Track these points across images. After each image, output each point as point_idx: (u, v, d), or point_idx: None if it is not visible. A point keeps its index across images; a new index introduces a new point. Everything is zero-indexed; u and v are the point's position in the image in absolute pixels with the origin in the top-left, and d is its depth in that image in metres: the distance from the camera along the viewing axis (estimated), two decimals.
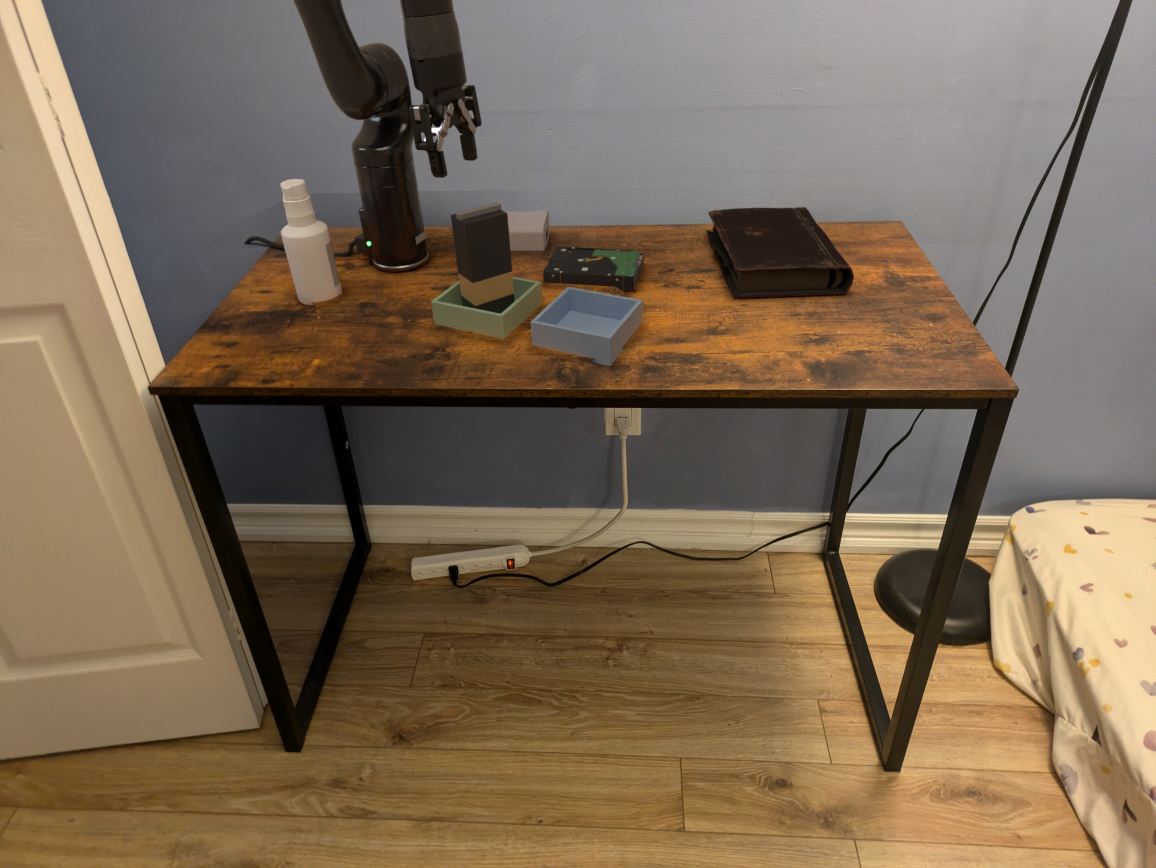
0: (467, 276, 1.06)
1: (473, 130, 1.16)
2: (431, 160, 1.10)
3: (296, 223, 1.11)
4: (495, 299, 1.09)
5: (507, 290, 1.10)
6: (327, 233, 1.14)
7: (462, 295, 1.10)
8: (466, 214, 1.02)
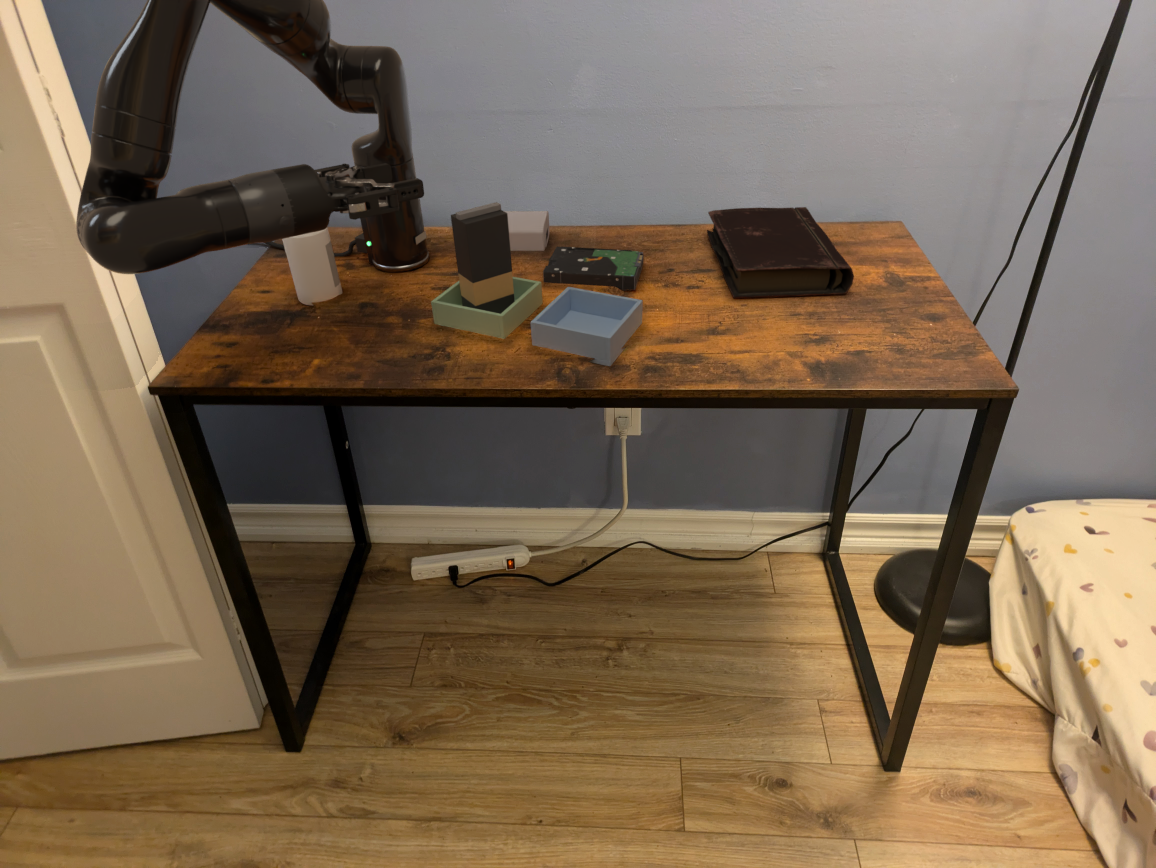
0: (467, 276, 1.06)
1: None
2: None
3: None
4: (495, 299, 1.09)
5: (507, 290, 1.10)
6: (327, 233, 1.14)
7: (462, 295, 1.10)
8: (466, 214, 1.02)
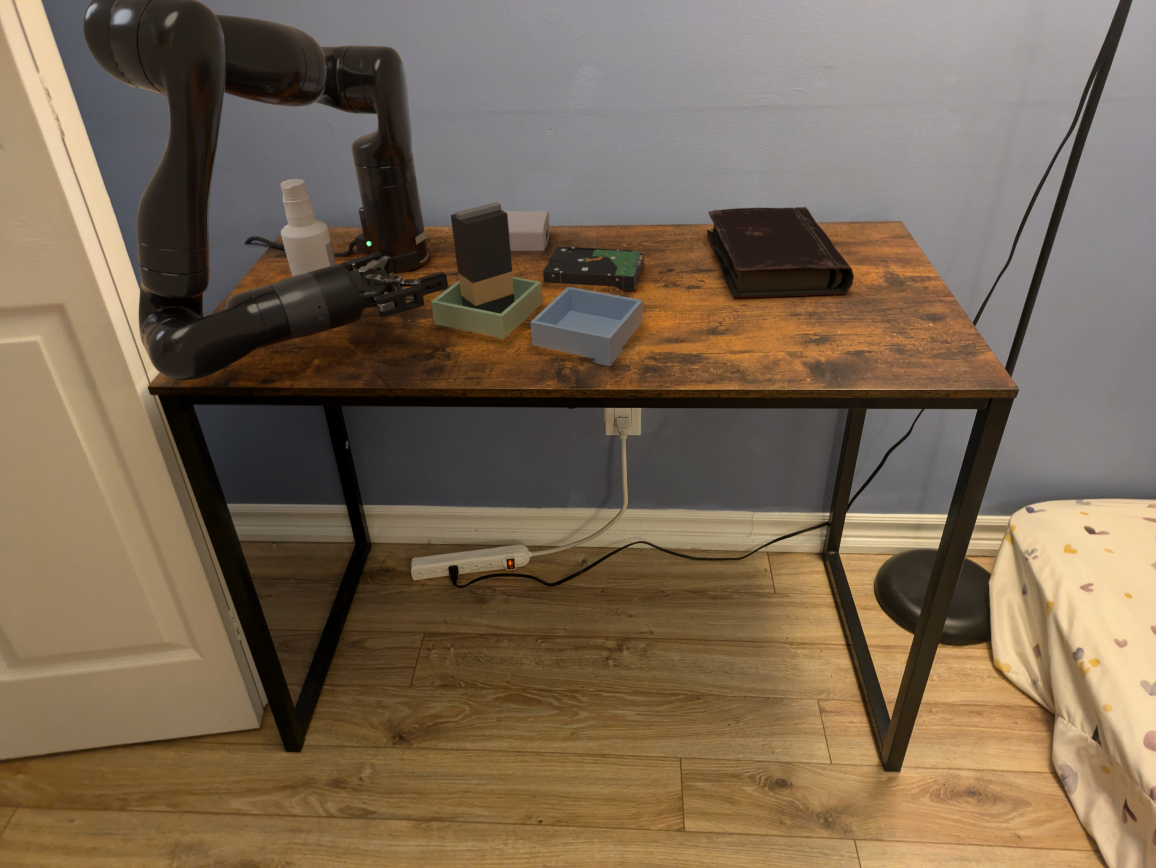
0: (467, 276, 1.06)
1: None
2: None
3: (296, 223, 1.11)
4: (495, 299, 1.09)
5: (507, 290, 1.10)
6: (327, 233, 1.14)
7: (462, 295, 1.10)
8: (466, 214, 1.02)
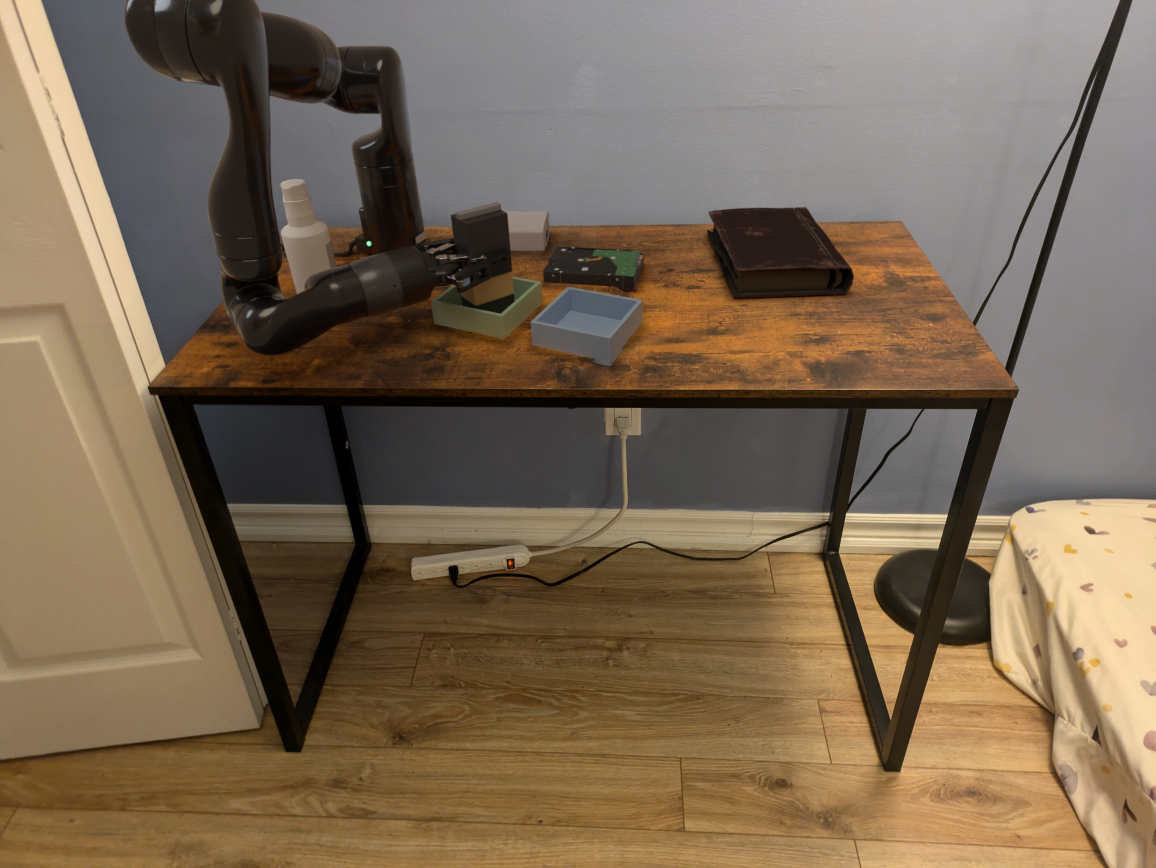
0: None
1: None
2: None
3: (296, 223, 1.11)
4: (495, 299, 1.09)
5: (507, 290, 1.10)
6: (327, 233, 1.14)
7: (462, 295, 1.10)
8: (466, 214, 1.02)
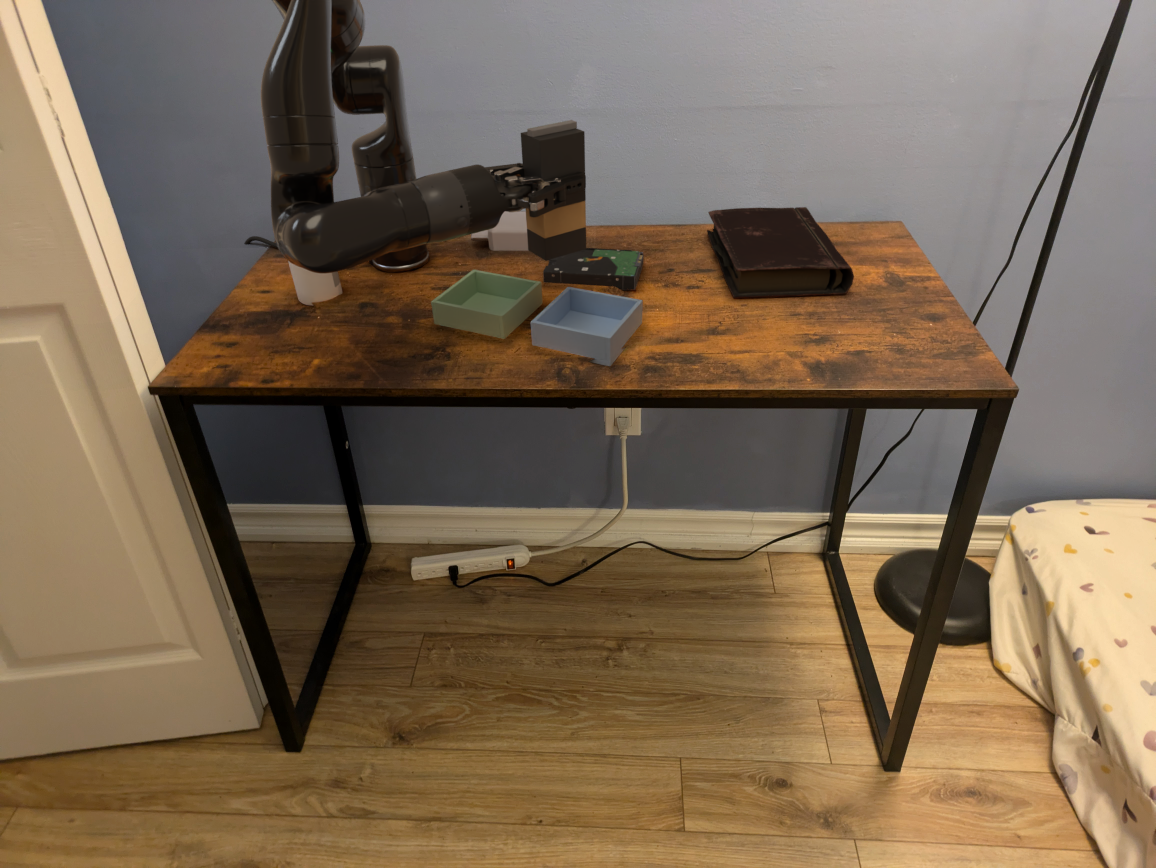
0: None
1: None
2: None
3: None
4: (565, 232, 0.98)
5: (578, 222, 0.98)
6: None
7: (528, 228, 0.99)
8: (539, 130, 0.90)
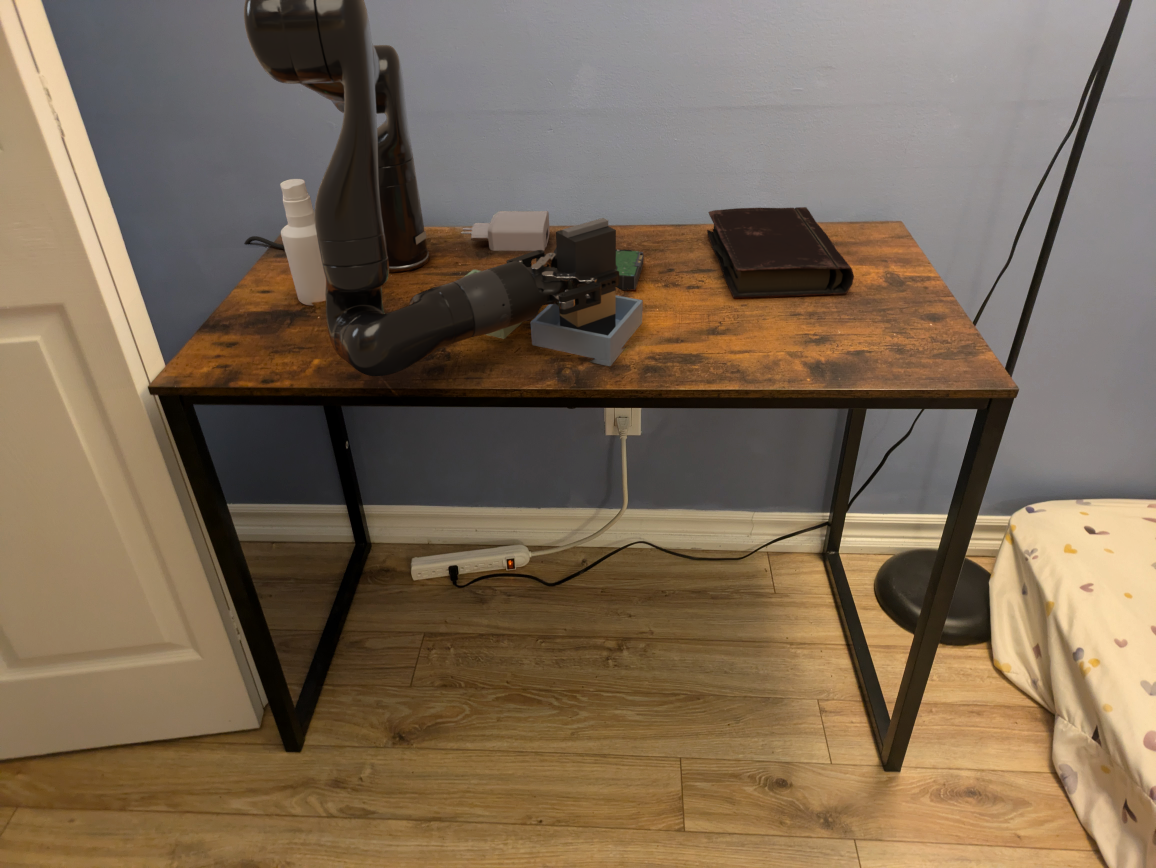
0: None
1: None
2: None
3: (296, 223, 1.11)
4: (597, 320, 1.04)
5: (609, 310, 1.04)
6: None
7: (561, 315, 1.04)
8: (574, 231, 0.96)
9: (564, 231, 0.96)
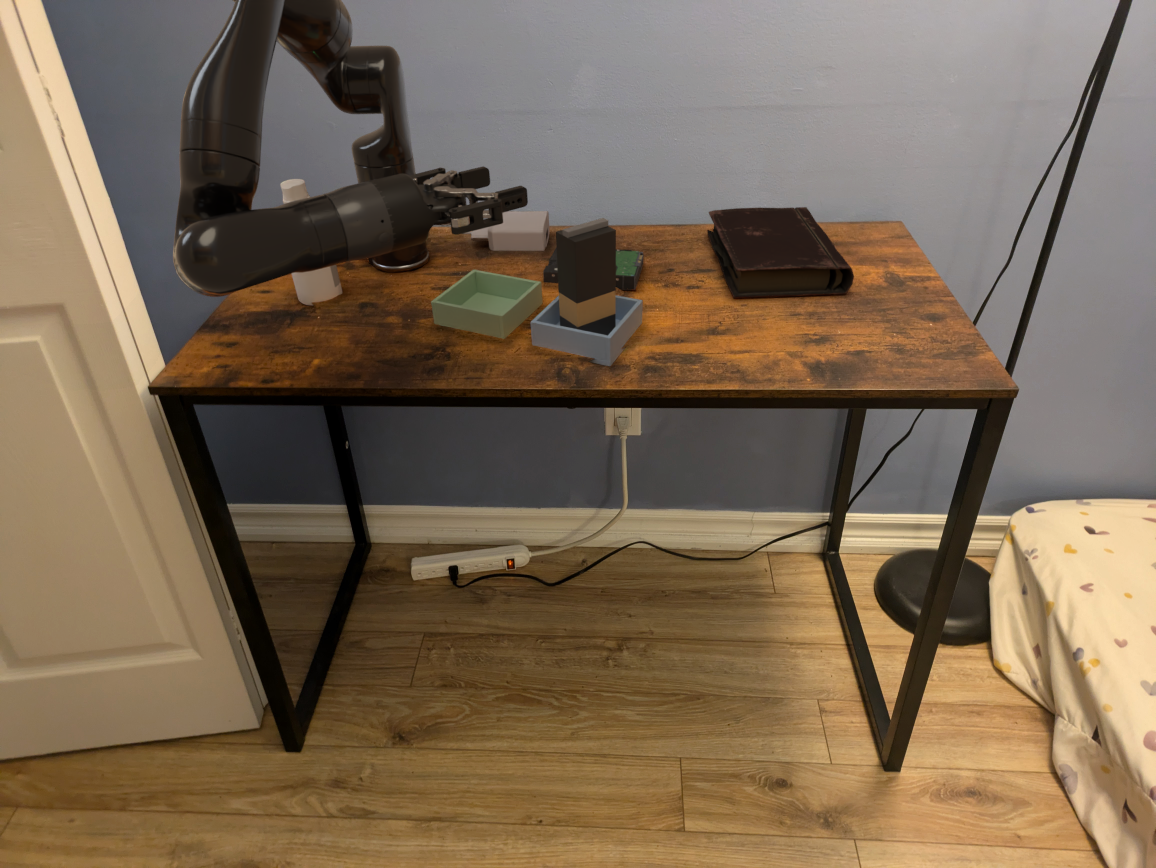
0: (570, 296, 1.01)
1: None
2: None
3: None
4: (597, 320, 1.04)
5: (609, 310, 1.04)
6: None
7: (561, 315, 1.04)
8: (574, 231, 0.96)
9: (564, 231, 0.96)
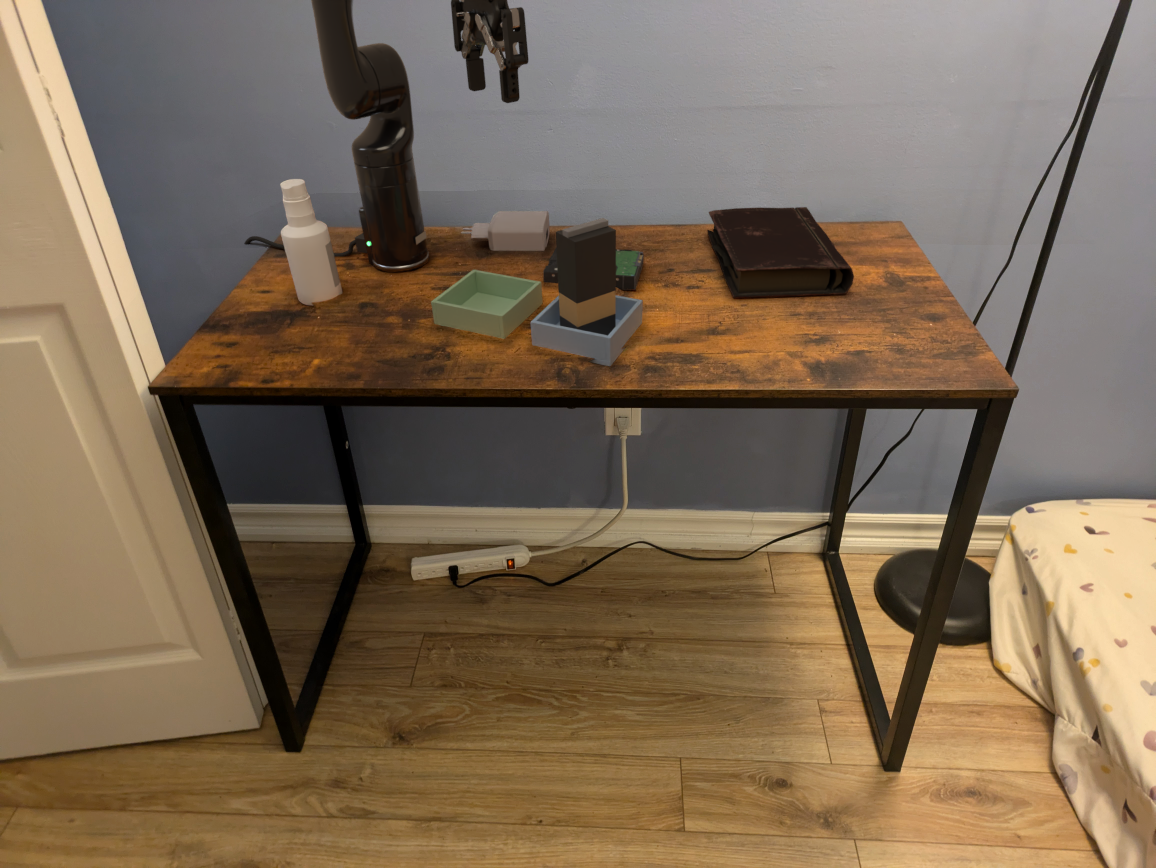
0: (570, 296, 1.01)
1: (499, 64, 0.91)
2: None
3: (296, 223, 1.11)
4: (597, 320, 1.04)
5: (609, 310, 1.04)
6: (327, 233, 1.14)
7: (561, 315, 1.04)
8: (574, 231, 0.96)
9: (564, 231, 0.96)
